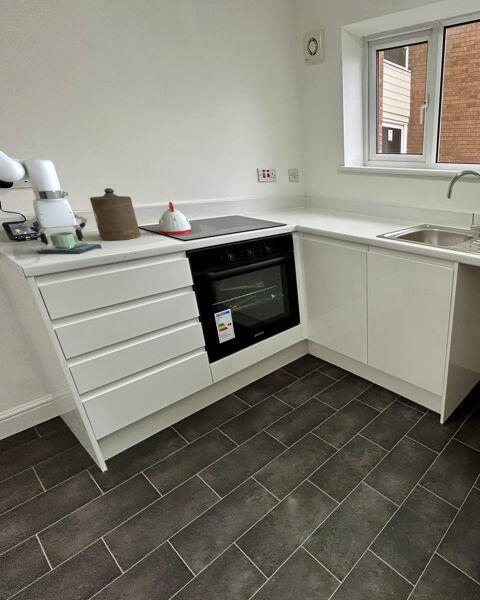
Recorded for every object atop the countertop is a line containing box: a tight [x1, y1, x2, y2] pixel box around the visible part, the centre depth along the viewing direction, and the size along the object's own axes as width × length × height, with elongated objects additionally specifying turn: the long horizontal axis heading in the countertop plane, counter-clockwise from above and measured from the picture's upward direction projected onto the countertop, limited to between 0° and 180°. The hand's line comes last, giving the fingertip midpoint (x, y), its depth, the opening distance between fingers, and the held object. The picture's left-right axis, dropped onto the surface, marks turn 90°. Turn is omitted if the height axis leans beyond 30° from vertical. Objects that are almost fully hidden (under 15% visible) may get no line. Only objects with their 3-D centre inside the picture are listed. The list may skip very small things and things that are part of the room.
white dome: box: [158, 201, 193, 236], centre depth 176 cm, size 14×14×15 cm
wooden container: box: [89, 187, 141, 241], centre depth 159 cm, size 15×15×22 cm
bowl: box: [49, 231, 78, 248], centre depth 133 cm, size 6×6×5 cm
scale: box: [36, 242, 102, 255], centre depth 134 cm, size 14×12×3 cm
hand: (63, 242), depth 133 cm, fingers open, 9 cm apart
